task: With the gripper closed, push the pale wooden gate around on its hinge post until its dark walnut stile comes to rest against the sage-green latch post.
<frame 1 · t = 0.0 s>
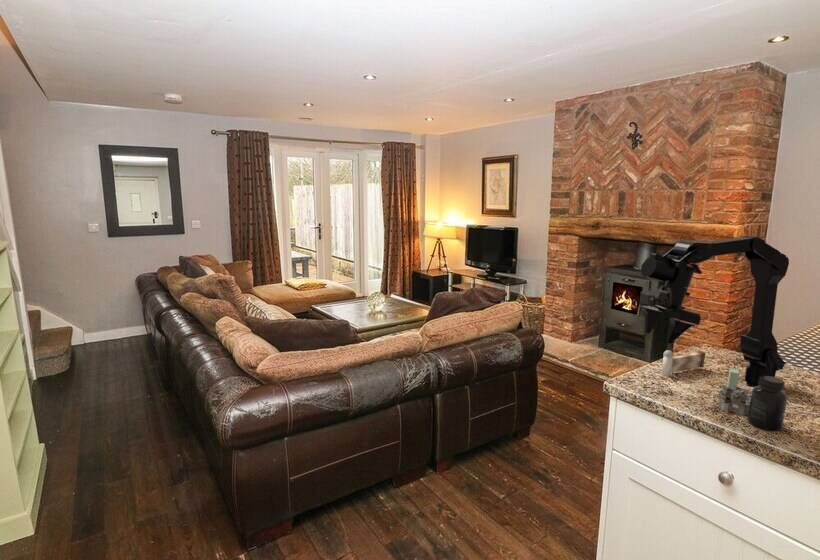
hand: (657, 338, 130), 15 cm above the counter, tool pointing down, fingers open, 9 cm apart
supplement bottle: (764, 425, 113), on the counter
latch post: (731, 387, 135), on the counter
gate: (686, 361, 146), point 3 cm above the counter, hinge at 55.0°
egg carton: (733, 407, 123), on the counter
hinge post: (665, 374, 144), on the counter
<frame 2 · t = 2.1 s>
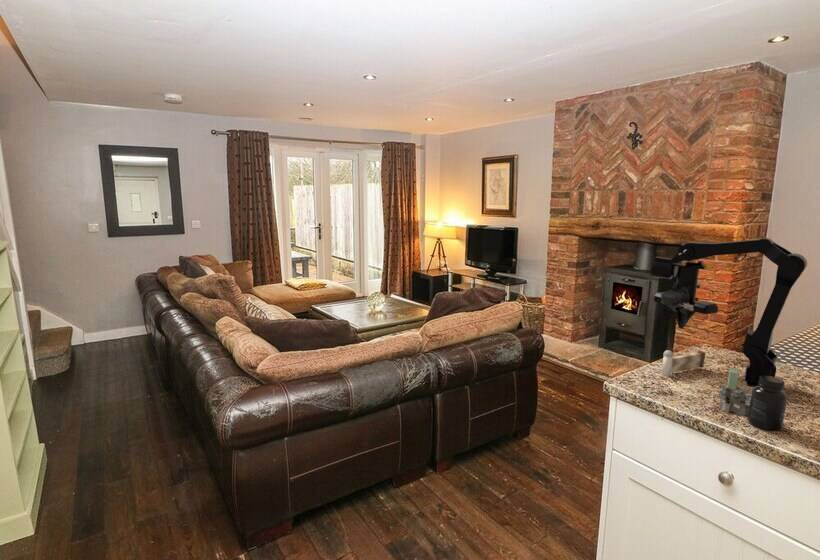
hand: (681, 328, 150), 12 cm above the counter, tool pointing down, fingers closed
nothing on the counter moved.
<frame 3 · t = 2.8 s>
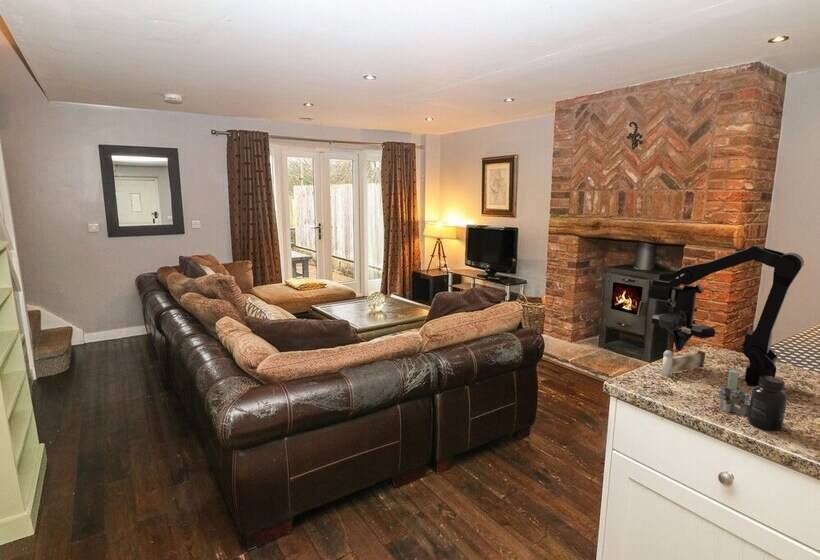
hand: (678, 350, 151), 5 cm above the counter, tool pointing down, fingers closed
nothing on the counter moved.
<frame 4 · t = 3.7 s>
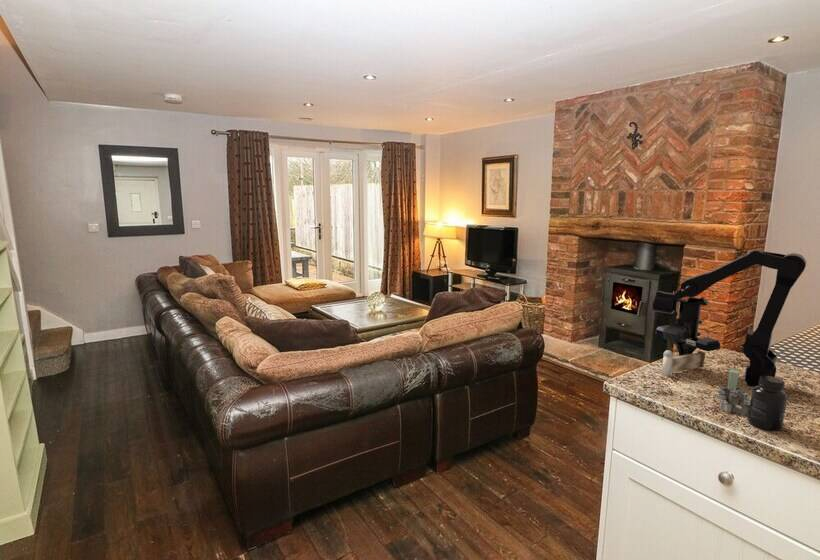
hand: (683, 362, 150), 1 cm above the counter, tool pointing down, fingers closed
gate: (686, 361, 146), point 3 cm above the counter, hinge at 55.0°, touching gripper
everything else where it was.
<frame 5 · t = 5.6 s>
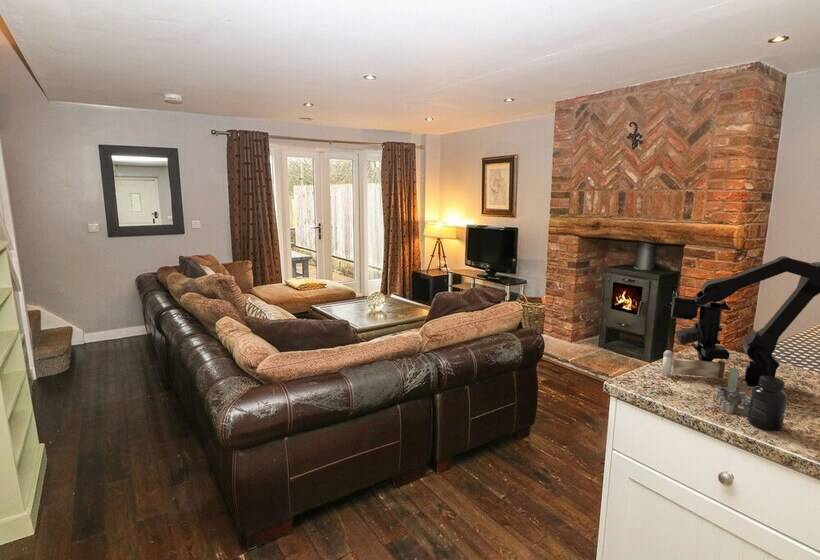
hand: (702, 369, 144), 2 cm above the counter, tool pointing down, fingers closed
gate: (697, 367, 141), point 3 cm above the counter, hinge at 20.7°, touching gripper
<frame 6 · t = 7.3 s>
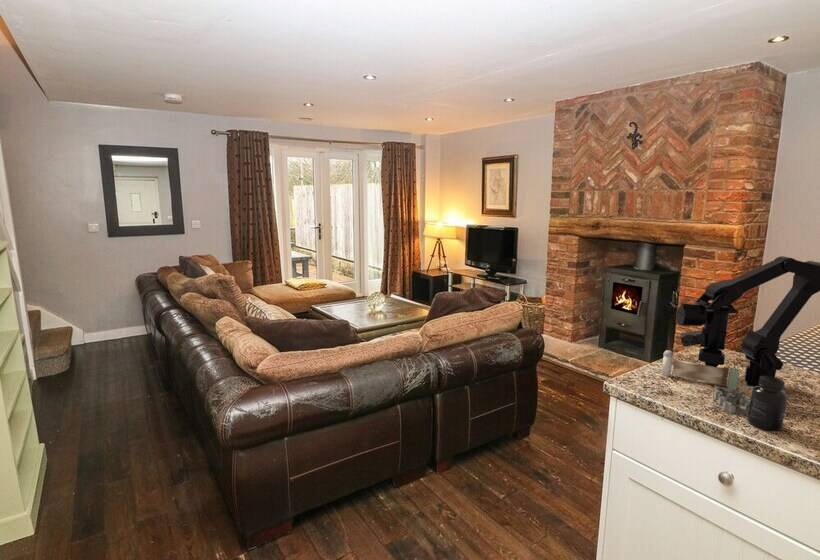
hand: (708, 375, 139), 2 cm above the counter, tool pointing down, fingers closed
gate: (699, 371, 138), point 3 cm above the counter, hinge at -1.1°, touching gripper
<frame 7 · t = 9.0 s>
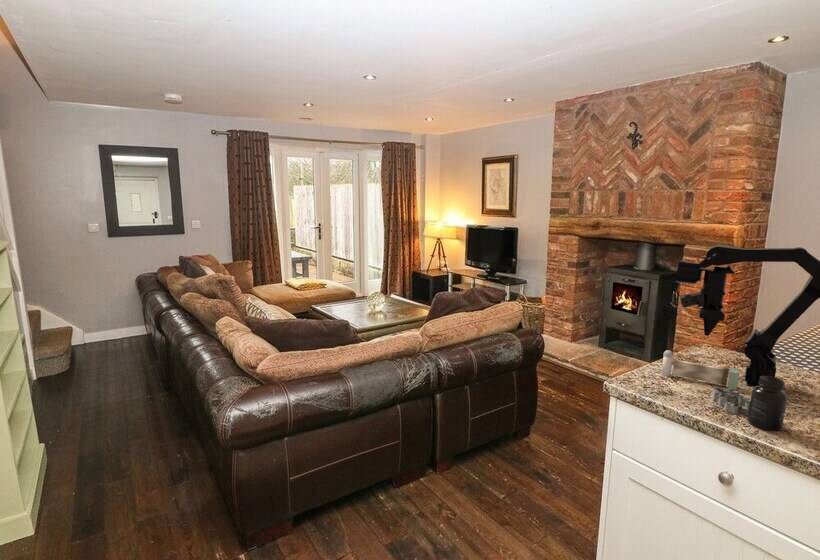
hand: (706, 335, 144), 12 cm above the counter, tool pointing down, fingers closed
gate: (699, 371, 138), point 3 cm above the counter, hinge at -0.9°
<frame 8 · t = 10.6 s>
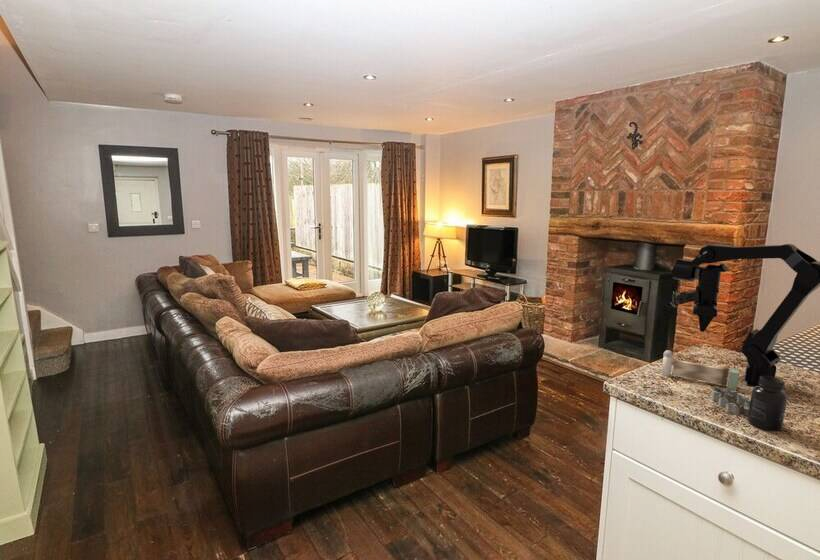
hand: (702, 331, 148), 12 cm above the counter, tool pointing down, fingers closed
at the end: gate at -1° (first picture: +55°); egg carton moved 0.9 cm from its start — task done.
